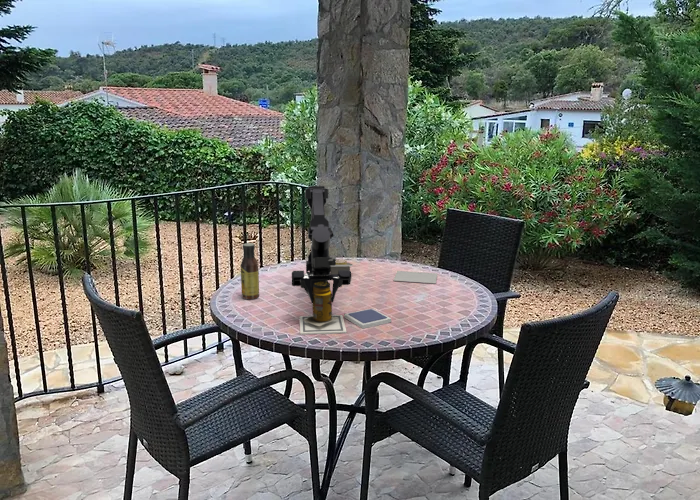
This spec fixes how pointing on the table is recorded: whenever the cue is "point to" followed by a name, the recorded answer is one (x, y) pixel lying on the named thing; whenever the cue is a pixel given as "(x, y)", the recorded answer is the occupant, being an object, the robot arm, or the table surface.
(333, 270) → the platform
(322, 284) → the condiment
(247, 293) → the sauce bottle
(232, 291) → the table surface
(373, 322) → the ink pad
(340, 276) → the robot arm
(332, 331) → the marked board
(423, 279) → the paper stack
